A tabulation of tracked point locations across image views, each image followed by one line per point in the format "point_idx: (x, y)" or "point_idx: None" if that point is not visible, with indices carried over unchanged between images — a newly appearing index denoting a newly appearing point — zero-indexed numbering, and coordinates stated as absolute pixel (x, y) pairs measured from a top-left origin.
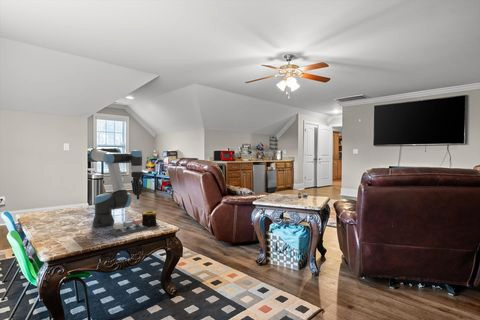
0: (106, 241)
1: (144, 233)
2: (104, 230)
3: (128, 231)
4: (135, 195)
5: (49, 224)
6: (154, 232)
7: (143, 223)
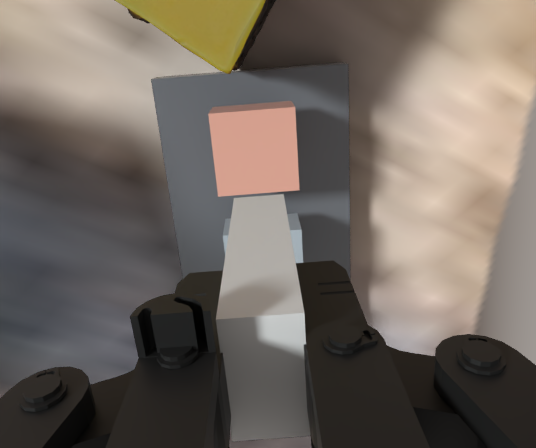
0: None
1: (457, 153)
2: (103, 357)
3: (348, 265)
4: (280, 429)
5: None
6: (513, 63)
7: (246, 54)
